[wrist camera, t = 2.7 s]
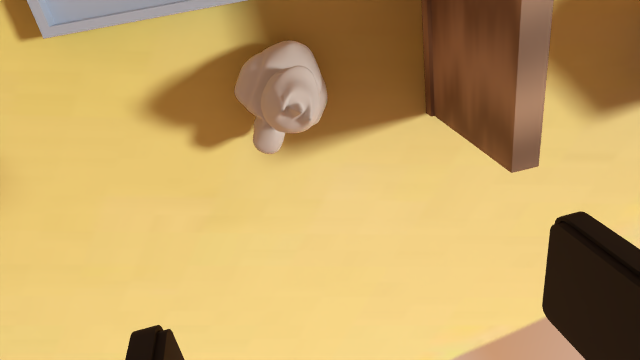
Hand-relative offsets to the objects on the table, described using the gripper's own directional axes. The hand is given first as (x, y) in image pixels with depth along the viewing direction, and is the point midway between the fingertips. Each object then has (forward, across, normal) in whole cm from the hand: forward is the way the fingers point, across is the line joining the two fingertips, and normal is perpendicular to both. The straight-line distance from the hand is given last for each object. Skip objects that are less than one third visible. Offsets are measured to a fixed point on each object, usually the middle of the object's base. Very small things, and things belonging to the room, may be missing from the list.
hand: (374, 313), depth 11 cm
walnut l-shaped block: (+20, -13, -4) cm, 24 cm away
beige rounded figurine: (+21, 0, 0) cm, 21 cm away
